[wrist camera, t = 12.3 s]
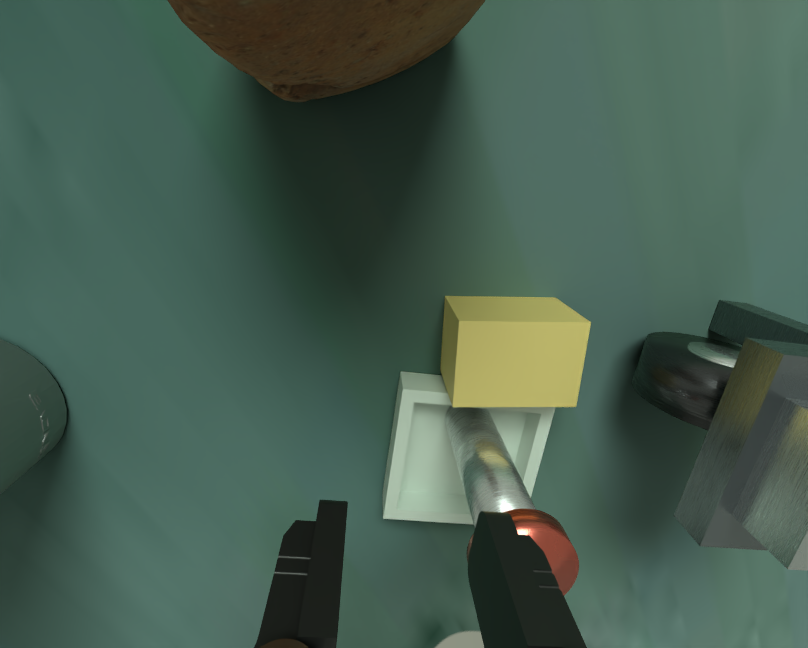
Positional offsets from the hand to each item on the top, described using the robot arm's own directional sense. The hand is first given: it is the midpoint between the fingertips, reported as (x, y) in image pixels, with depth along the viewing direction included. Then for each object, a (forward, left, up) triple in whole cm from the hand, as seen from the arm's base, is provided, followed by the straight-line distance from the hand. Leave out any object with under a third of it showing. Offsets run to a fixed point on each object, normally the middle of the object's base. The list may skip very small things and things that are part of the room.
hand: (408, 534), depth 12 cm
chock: (+7, 0, -17) cm, 19 cm away
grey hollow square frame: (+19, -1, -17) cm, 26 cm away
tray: (+6, -8, -17) cm, 20 cm away
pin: (+6, -6, -17) cm, 19 cm away
